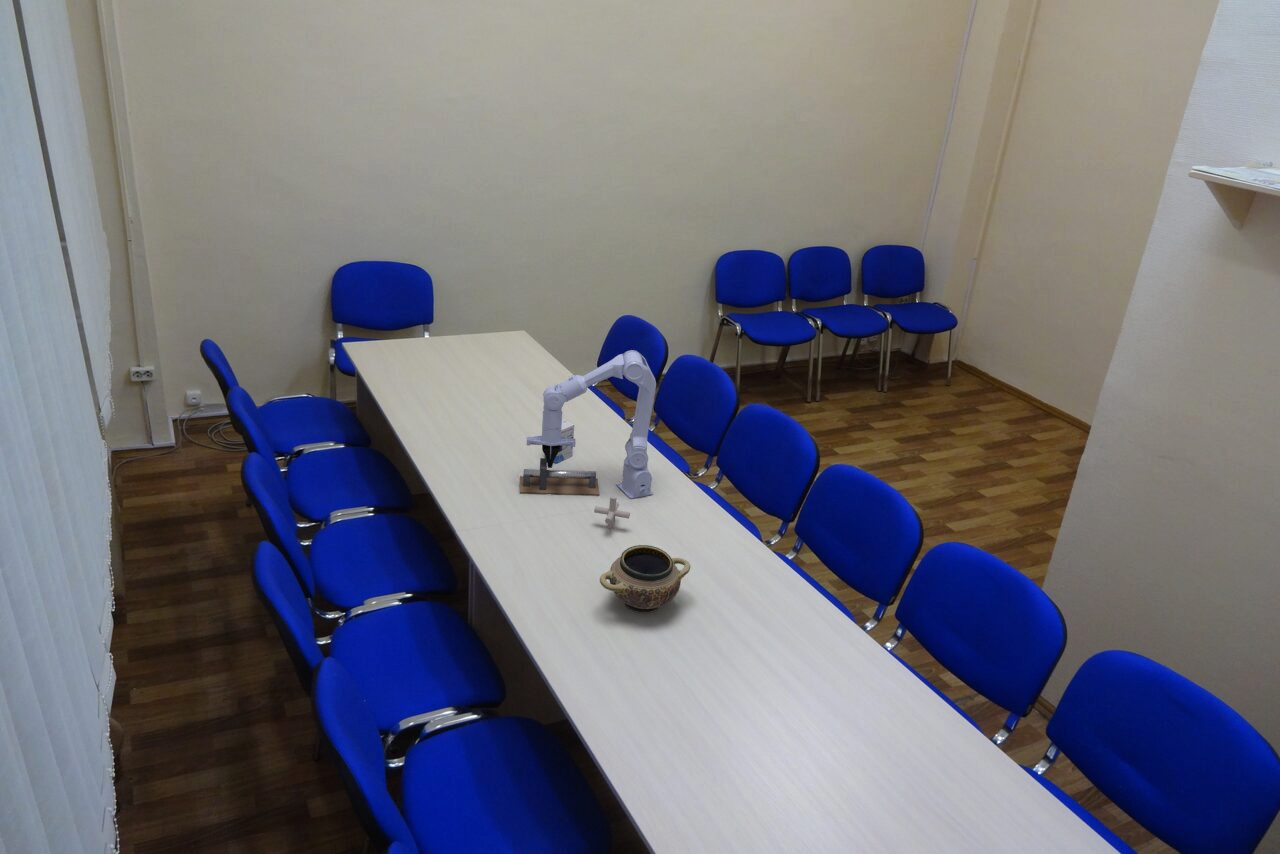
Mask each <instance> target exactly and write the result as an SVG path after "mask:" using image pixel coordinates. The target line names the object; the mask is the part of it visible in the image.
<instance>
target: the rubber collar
mask: <svg viewBox="0 0 1280 854" xmlns="http://www.w3.org/2000/svg"><path fill="white" fill-rule="evenodd" d="M539 470H540V478H539V489H546V481H547V470H548V464H547V460H546V458H545V457H540V459H539Z"/></svg>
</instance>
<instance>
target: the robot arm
mask: <svg viewBox="0 0 1280 854" xmlns="http://www.w3.org/2000/svg"><path fill="white" fill-rule="evenodd" d="M623 376H624V377H625V379H626V380H628V381H629V382H632V383H634V384H635V385H636V386H637V387H638V392H637V393H638V394H637V398H636V406H635V411H634V418H633V423H632V427H631V428H632V430H631V432H630V433H629V434H630V435H629V437H628V439H627V441H626V442H625V445H624V448H625V449H624V450H625V451H626V457H625V458H624V459H623V470H622V479H621V480H622V481H621V482H618V483H616V486H617V488H619V489H620V490H621V492H623V493H624V494H625V495H626V497H628V499H636V498H637V499H638V498H642V497H647V496H653V492H652V489H651V488H652V479H653V477H652V474H651V472H650V471H649V468H648V462H649V456H648V453H647V452H648V451H647V450H648V436H649V429H650V424H651V419H652V413H653V406H654V400H655V395H656V387H657V382H656V378H655V376H654V374H653V372H652V370H651V368H650V366H649V364H648V362H647V359H646V358H645V357H644V356H643V354H641V353H640V352H638V350H634V349H633V350H632V349H631V350H627V351H625V352H624V353H621V354H617V356H615V357H613V358H612V359H611V360H609V361H608V362H605V363H604V364H602V365H601V366H599V367H597V368H595V369H594V370H592V371H590V372H588V373H586V374H584V375H580V374H576V375H573V374H572V375H570V376H568V379H566V380H564V381H562V382H560V383H555V384H554V385H550V386H548V387H546V388H545V390H544V392H543V393H542V395H543V408H542V409H543V410H542V424H541V435H537V436H527V437H526V446H531V445H532V446H533V445H534V446H541V449H542V452H543V455H544V458H545V457H546V460H547V469H552V468H553V465H554V463H553V462H554V460H555V457H556V456H557V454H558V453H559V451H560V446H572V447H573V448H576V445H577V444H576V443H577V442H576V438H567V437H562V436H561V427H562V420H563V411H562V409H563V406H564V405H565V403H567V402H569V401H570V402H571V400H574V399H575V398H577V397H580V396H582V395H583V394H586V393H587V391H588V388H589V387H590V386H593V385H595V384H597V383H600V382H602V381H604V380H607V379H609V378H611V377H613V378H618V379H620V380H623V379H624V377H623ZM550 446H551V457H550Z"/></svg>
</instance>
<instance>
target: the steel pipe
mask: <svg viewBox="0 0 1280 854" xmlns="http://www.w3.org/2000/svg"><path fill="white" fill-rule="evenodd" d="M522 476H523V487H530V477H539V478H540V469H536V468H535V469H533V468H529V469H528V468H523V475H522ZM547 478H575V479H589V482H588V484H589V488H595V487H596V478H597V471H595V470H568V469H567V470H565V469H547Z"/></svg>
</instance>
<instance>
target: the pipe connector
mask: <svg viewBox="0 0 1280 854" xmlns="http://www.w3.org/2000/svg"><path fill="white" fill-rule="evenodd" d="M619 507H620V504H619V502H618V501H617V496H616V495H610V496H609V507H602V506H597V505H595V507H594V511H593V512H594V513H596V514H601V515H605V516H606V518H605V520H604V522H605V524H607V529H608V530H614V529H615V522H616V521H615V520H616V518H615V517H617V518H624V519H627V520H628V519H629V518H630V515H631V512H630V511H626V510H625V511H623V510H621V509H620V510H619V509H618V508H619Z"/></svg>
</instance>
